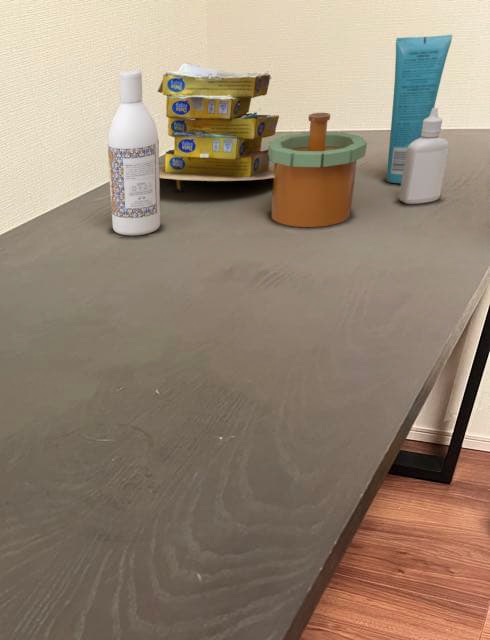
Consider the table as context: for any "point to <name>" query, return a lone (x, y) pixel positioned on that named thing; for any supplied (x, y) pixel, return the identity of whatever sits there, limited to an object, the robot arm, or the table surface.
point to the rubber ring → (349, 152)
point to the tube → (413, 93)
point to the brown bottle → (313, 186)
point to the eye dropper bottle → (425, 164)
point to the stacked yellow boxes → (215, 125)
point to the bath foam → (133, 162)
